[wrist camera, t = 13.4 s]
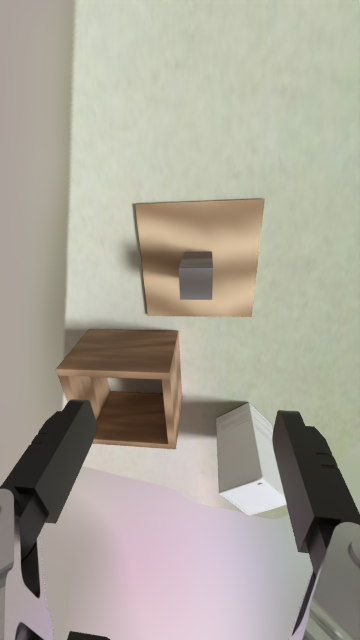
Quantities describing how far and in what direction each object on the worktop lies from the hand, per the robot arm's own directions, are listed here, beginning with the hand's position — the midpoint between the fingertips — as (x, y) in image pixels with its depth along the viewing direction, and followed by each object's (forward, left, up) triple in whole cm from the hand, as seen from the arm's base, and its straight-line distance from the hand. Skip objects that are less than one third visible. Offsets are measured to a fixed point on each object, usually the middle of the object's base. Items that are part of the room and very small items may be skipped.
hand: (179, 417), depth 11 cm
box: (+17, -10, -24) cm, 31 cm away
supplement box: (+29, +8, -24) cm, 39 cm away
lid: (0, 0, -25) cm, 25 cm away
